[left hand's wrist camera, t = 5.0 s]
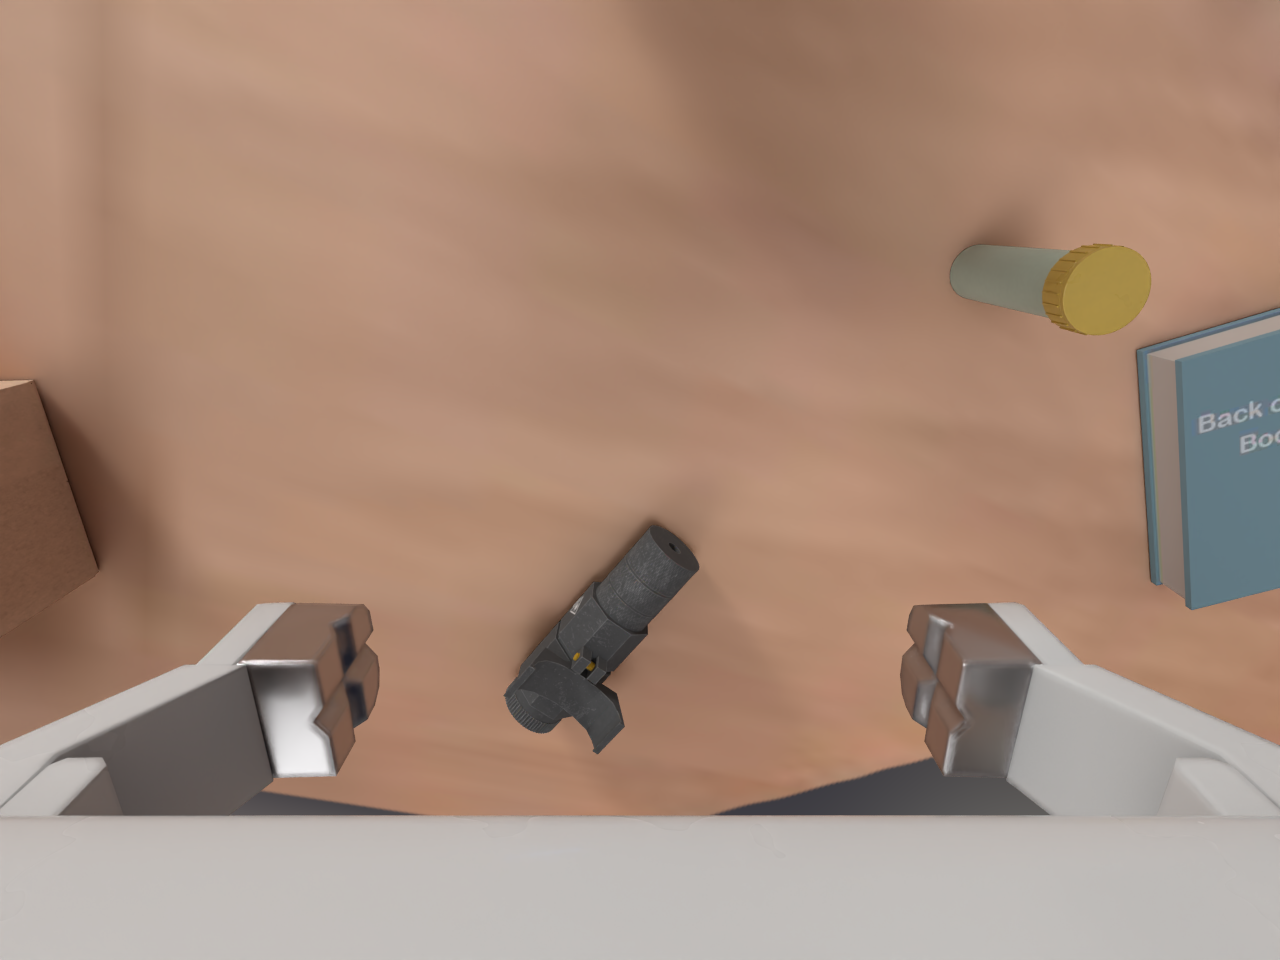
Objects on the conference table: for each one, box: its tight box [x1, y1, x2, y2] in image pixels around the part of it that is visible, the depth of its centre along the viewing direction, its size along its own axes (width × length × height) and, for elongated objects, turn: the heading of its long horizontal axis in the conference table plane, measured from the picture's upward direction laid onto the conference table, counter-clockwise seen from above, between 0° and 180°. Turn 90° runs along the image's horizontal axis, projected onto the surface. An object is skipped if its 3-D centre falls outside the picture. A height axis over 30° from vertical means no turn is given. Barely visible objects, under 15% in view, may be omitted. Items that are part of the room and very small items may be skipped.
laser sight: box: [504, 525, 699, 754], centre depth 61 cm, size 10×22×10 cm, turn 142°
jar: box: [950, 245, 1071, 318], centre depth 47 cm, size 4×4×16 cm
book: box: [1137, 308, 1280, 610], centre depth 57 cm, size 23×16×5 cm
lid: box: [1042, 244, 1151, 335], centre depth 40 cm, size 5×5×2 cm
